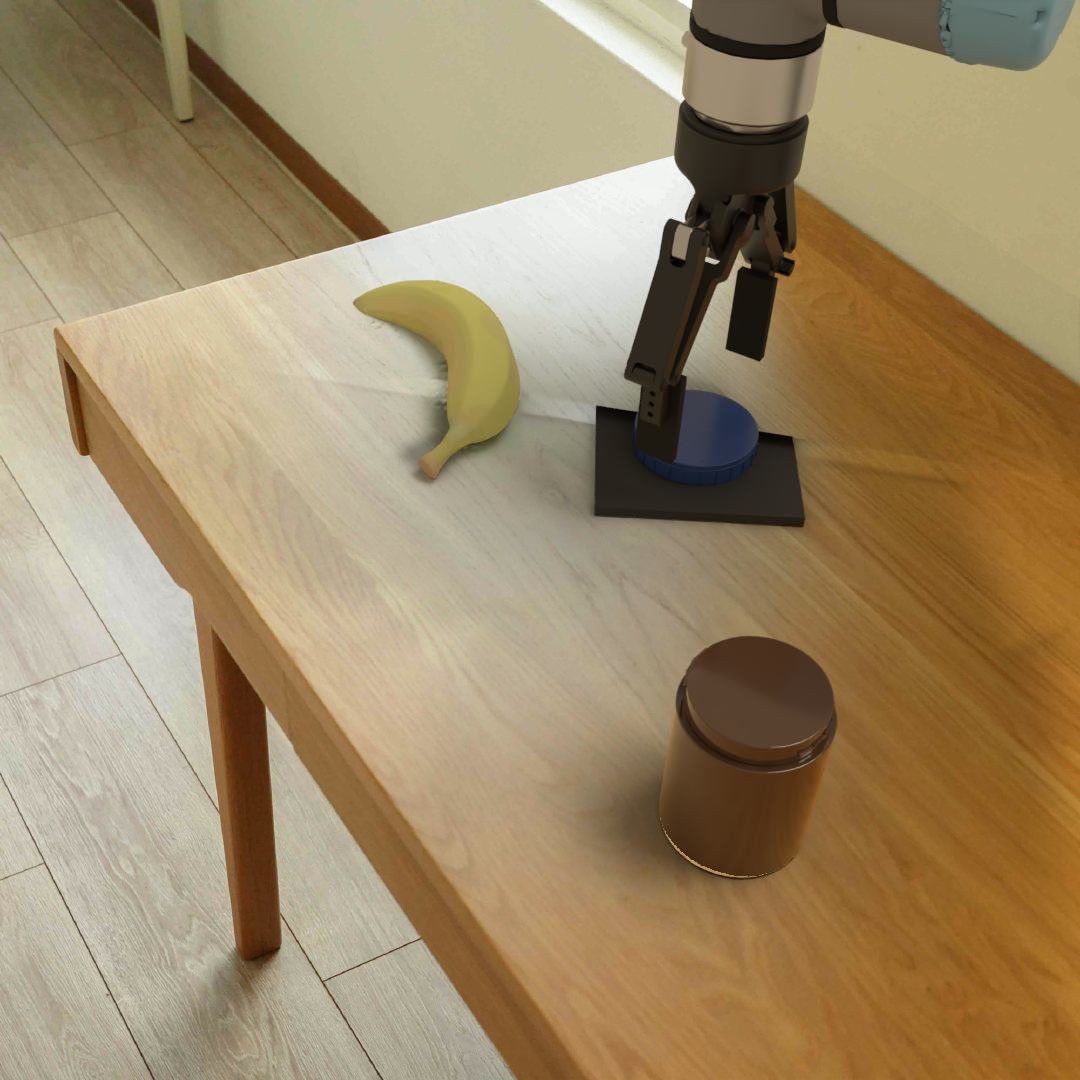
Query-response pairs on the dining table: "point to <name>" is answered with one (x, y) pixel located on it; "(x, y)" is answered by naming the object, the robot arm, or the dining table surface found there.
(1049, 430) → the dining table surface
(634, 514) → the tray
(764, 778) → the jar
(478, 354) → the banana
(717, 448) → the jar lid
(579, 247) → the dining table surface
